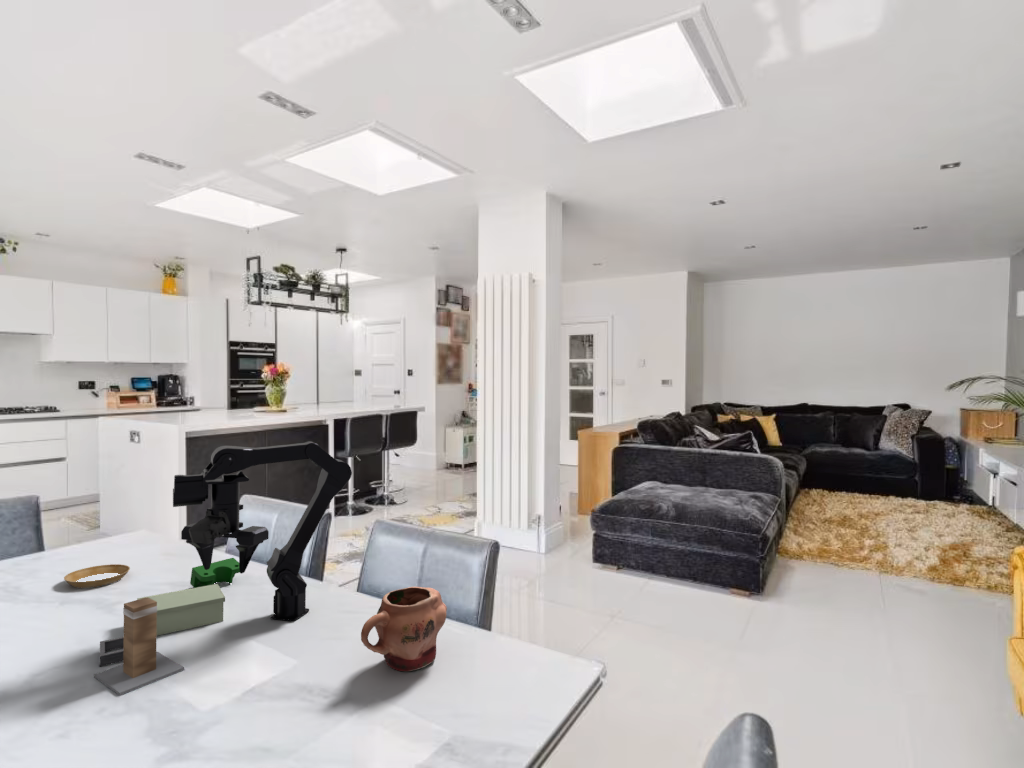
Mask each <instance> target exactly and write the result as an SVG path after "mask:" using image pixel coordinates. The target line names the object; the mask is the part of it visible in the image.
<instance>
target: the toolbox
mask: <svg viewBox="0 0 1024 768" xmlns="http://www.w3.org/2000/svg"><path fill="white" fill-rule="evenodd" d="M146 597H148V598H150V599H152V600H154V601H156V602H157V635H156V637H157V636H162V635H165V634H170V633H175V632H176V633H177V632H181V631H185V630H189V629H194V628H199V627H202V626H207V625H212V624H217V623H221V622H224V603H225V602H226V597H225V594H224V593H223V591H222V589H221V587H220V586H219V583H217V584H214V585H208V586H203V587H197V588H194V587H192V588H188V589H181V590H176V591H171V592H165V593H160V594H155V595H149V596H143V597H142V596H141V597H137V598H136V600H139V599H142V598H146Z"/></svg>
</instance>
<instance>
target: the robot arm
mask: <svg viewBox="0 0 1024 768" xmlns="http://www.w3.org/2000/svg"><path fill="white" fill-rule="evenodd" d="M300 460H309V461H310V462H312V463H313V464H314V465H315V466H316V467H317V468H319V469H320V470H321V471H320V474H319V475H318V480H317V485H316V489H315V492H314V493H313V495H312V498H311V499H310V501H309V503H308V505H307V507H306V508H305V510H304V512H303V513H302V515H301V518H300V519H299V522H298V523H297V525H296V527H294V530H293V532H292V534H291V535H290V537H289V539H288V541H287V543H286V544H285V545H284V546H283V547H282V548H281V549H279V548H277V547H274V549H273V552H272V554H271V557H270V558H269V559H268V560H267V561H266V565H267V567H266V574H267V578H268V579H269V580H270V582H271V585H273V587H275V588H276V589H275V590H274V595H273V605H272V606H273V607H272V608H273V614H272V615H270V619H271V620H278V621H279V620H280V621H285V622H286V621H288V622H296V621H297V620H299V618H301V617H303V616H304V615H305V614H307V613H309V612H310V608H307V607H306V600H307V599H306V598H307V597H306V596H307V595H306V594H307V590H306V589H307V587H308V583H307V582H306V581H305V579H304V578H303V577H302V575H301V574H300V570H301V566H302V561H303V556H304V553H305V550H306V548H307V546H308V545H309V543H310V541H311V539H312V538H313V535H314V533H315V532H316V529H318V526H319V525H320V523H321V521H322V519H323V516H324V515H325V513H326V511H327V510H328V509H329V508H328V507H329V505H330V504H331V502H332V500H333V499H334V497H336V495H338V494H339V493H340V492H341V491H342V490H343V489H344V488H345V486H346V485H347V484H348V483H349V481H350V479H351V478H352V474H353V471H352V468H351V466H350V465H349V464H348V463H347V462H345V461H344V460H341V459H337V458H335V457H334V456H331V454H330V453H328V452H326V451H325V450H324V449H323V448H321V446H320V445H319V444H318V443H315V442H313V441H305V442H300V443H291V444H289V443H288V444H282V445H271V446H261V447H260V446H259V447H249V446H248V447H247V446H240V445H239V446H238V445H237V446H236V445H221V446H218V447H216V448H215V449H214V450H213V451H212V453H211V456H210V462H209V463H208V464H207V465H206V467H205V468H204V469H203V470H202V472H201V473H200V474H187V475H186V474H175V475H174V477H173V479H174V482H173V488H172V507H173V508H178V507H188V506H198V505H199V506H200V505H203V502H206V501H207V500H208V499H209V485H210V486H211V488H210V489H211V491H210V492H211V493H210V494H211V496H210V498H211V499H210V501H211V502H210V507H208V508H206V511H205V515H204V518H202V519H200V520H198V521H197V522H193V523H191V524H189V525H185V526H184V527H183V528H182V529H181V536H180V537H181V538H180V540H183V541H185V540H186V541H185V543H187V544H189V545H190V546H192V547H194V548H195V550H196V552H197V554H198V556H199V558H200V561H201V563H202V565H203V566H204V569H205V570H208V569H209V568H210V565H211V563H212V562H213V561H212V560H213V553H214V547H215V540H216V539H217V538H218V539H220V538H227V539H228V538H229V539H235V540H236V542H237V543H238V544H236V545H235V548H236V550H238V553H239V554H238V555H239V556H238V558H239V560H238V562H239V569H240V572H239V573H240V574H244V573H245V572H246V570H247V567H248V566H249V563H250V561H251V560H252V557H253V555H254V553H255V552H256V550H257V548H258V546H259V545H260V544H262V543H264V541H266V540H269V529H268V528H267V527H266V526H259V525H258V526H257V525H252V526H249V527H245V528H244V522H242V521H241V522H240V511H241V510H243V509H244V504H241V503H240V494H241V493H240V484H241V483H245V482H249V481H250V478H249V477H248V476H247V475H246V474H245V473H244V472H243V471H244V470H246V469H249V468H252V467H254V466H255V467H256V466H259V465H265V464H266V465H267V464H274V463H283V462H293V461H300ZM220 477H221V478H220ZM241 528H243V529H241Z"/></svg>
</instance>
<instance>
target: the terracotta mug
mask: <svg viewBox="0 0 1024 768" xmlns="http://www.w3.org/2000/svg"><path fill="white" fill-rule="evenodd" d="M447 610H448V607H447V605H446V604H445V603H444V602H443V599H442V595H441V592H440V591H439V590H436V589H435V588H433V587H423V586H422V587H421V586H409V587H406V588H399V589H395V590H391V591H389V592H387V593H386V594H385V595H383V597H382V599H381V604H380V606H379V608H378V610H377V612H376V614H373V615H372V616H371V617H370V618H368V619H367V620H366V621H365V623H364V624H363V626H362V629H361V631H360V640H361V642H362V643H363V646H364V647H366V648H367V649H368V650H370V651H372V652H373V653H377V654H380V655H383V658H384V661H385V662H386V664H387V666H388V667H389V668H392V669H393V670H396V671H400V672H412V671H416V670H419V669H422V668H425V667H426V666H429V665H430V664H431V663H433V662H434V661H435V660H436V656H437V637H438V634H439V633H440V630H441V629H442V628H443V626H444V624H445V622H446V619H447ZM373 628H375V630H376V633H377V637H378V640H377V642H376V643H375V644H372V643H370V641H369V636H370V635H369V634H370V633H371V631H372V630H373Z"/></svg>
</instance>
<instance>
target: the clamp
mask: <svg viewBox="0 0 1024 768" xmlns="http://www.w3.org/2000/svg"><path fill="white" fill-rule="evenodd" d="M239 573H240V569H239V560H237V559H236V558H234V557H230V558H226V559H222V560H218V561H214V562H211V565H210V568H209V569H208V570H205V569H204V566H203V564H202V565H198V566H194V567H192V568H191V575H190V580H189V584H190V586H192V588H197V587H203V586H208V585H214V583H216V582H220V583H226V582H229V583H232V584H233V581H234V577H235V575H236V574H239Z"/></svg>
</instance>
